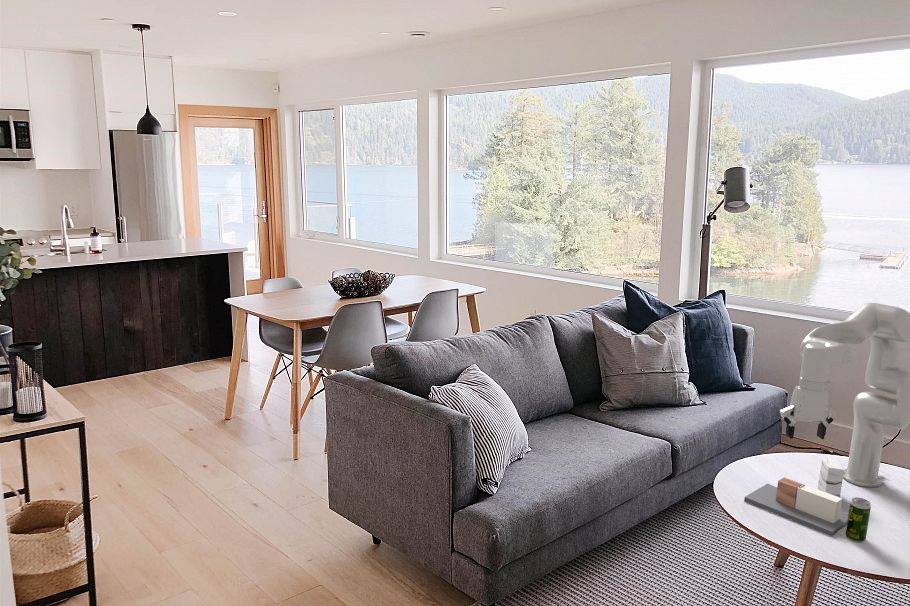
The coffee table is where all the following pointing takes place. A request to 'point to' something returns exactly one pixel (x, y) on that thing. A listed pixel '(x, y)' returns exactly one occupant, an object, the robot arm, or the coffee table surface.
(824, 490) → the ink box
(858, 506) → the beer can
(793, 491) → the stub
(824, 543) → the coffee table surface
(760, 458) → the coffee table surface
